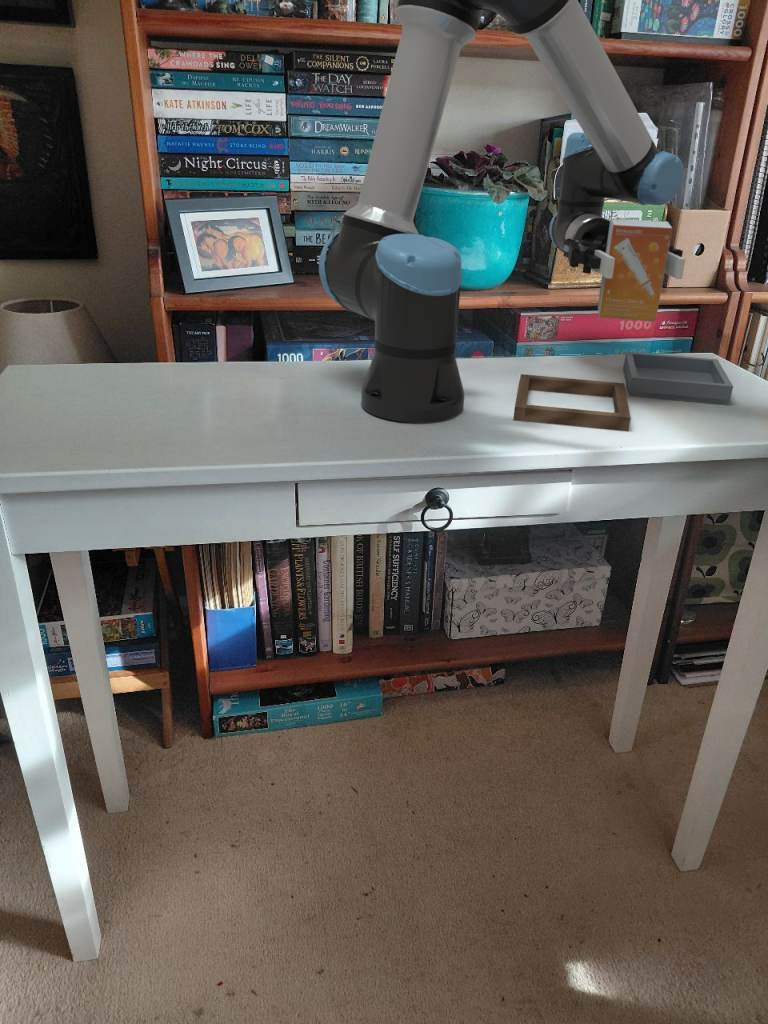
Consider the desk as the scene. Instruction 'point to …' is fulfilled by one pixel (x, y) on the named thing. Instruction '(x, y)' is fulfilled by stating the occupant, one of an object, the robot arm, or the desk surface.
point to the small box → (635, 269)
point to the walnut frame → (573, 416)
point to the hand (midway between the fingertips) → (646, 268)
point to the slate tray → (676, 378)
